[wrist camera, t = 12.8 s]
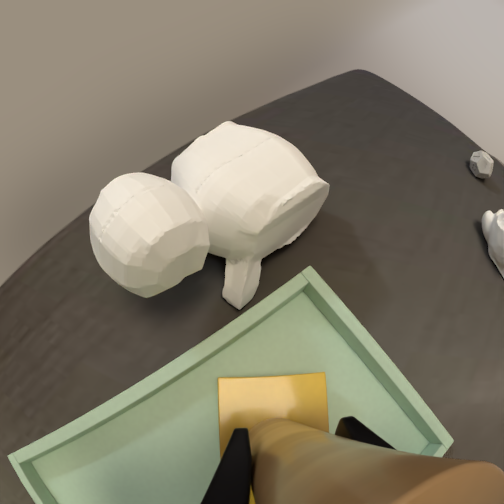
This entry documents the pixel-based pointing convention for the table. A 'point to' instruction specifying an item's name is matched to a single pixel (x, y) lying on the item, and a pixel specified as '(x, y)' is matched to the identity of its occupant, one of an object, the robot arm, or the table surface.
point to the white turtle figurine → (207, 212)
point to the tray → (206, 405)
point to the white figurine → (495, 237)
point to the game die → (481, 164)
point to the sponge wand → (335, 452)
